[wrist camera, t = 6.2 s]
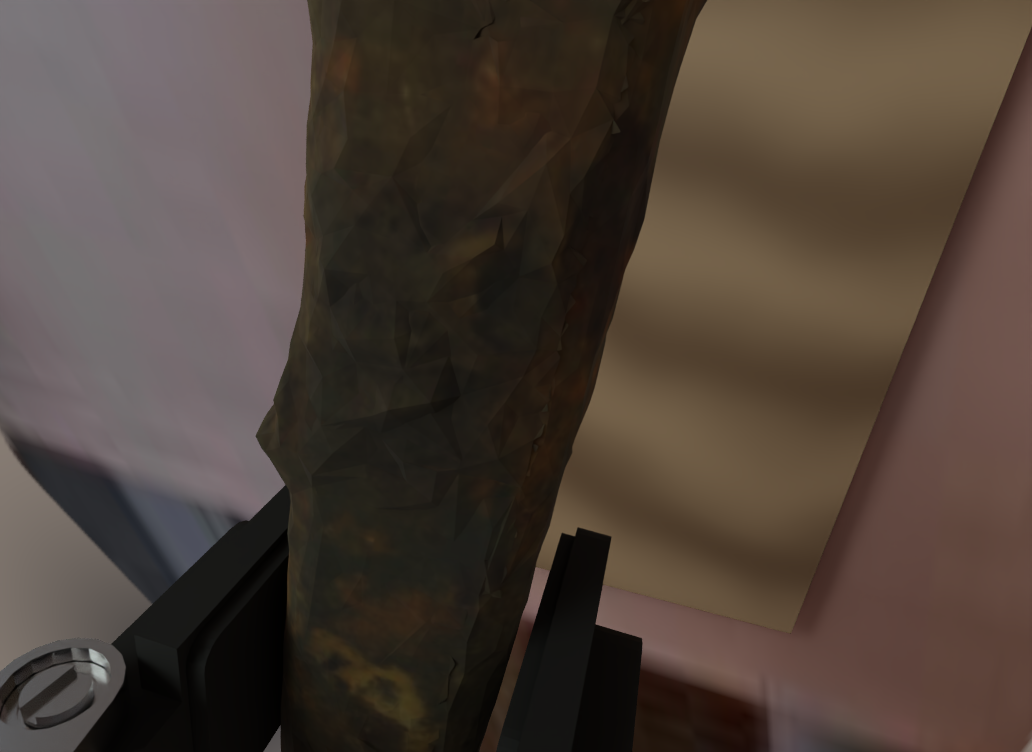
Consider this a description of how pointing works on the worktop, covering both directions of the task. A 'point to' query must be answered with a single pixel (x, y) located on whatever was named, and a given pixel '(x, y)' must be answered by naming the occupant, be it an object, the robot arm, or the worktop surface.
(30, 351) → the worktop surface
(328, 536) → the hand tool
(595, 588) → the robot arm
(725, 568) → the board
